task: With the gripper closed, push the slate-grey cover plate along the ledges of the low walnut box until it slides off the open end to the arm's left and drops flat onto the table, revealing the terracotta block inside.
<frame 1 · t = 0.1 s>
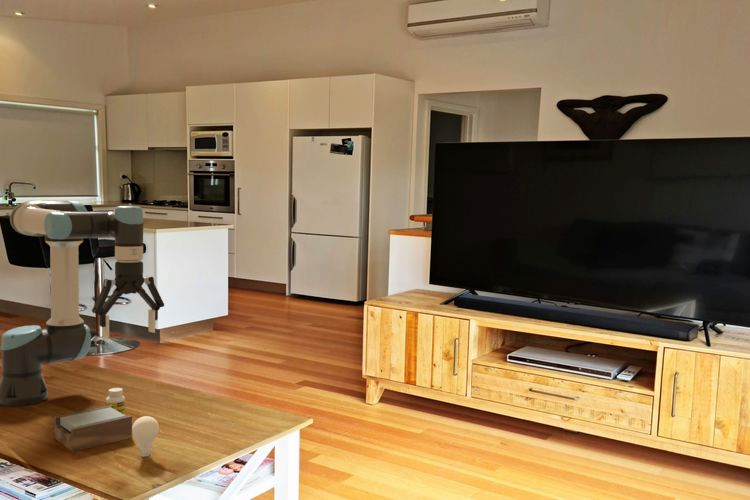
hand: (129, 335, 194), 28 cm above the table, fingers open, 13 cm apart
light bulb: (145, 458, 177), on the table
supplement bottle: (115, 422, 204), on the table
cover plate: (93, 423, 187), point 5 cm above the table, touching walnut box
walnut box: (93, 441, 187), on the table
terracotta block: (96, 437, 188), point 1 cm above the table, touching walnut box
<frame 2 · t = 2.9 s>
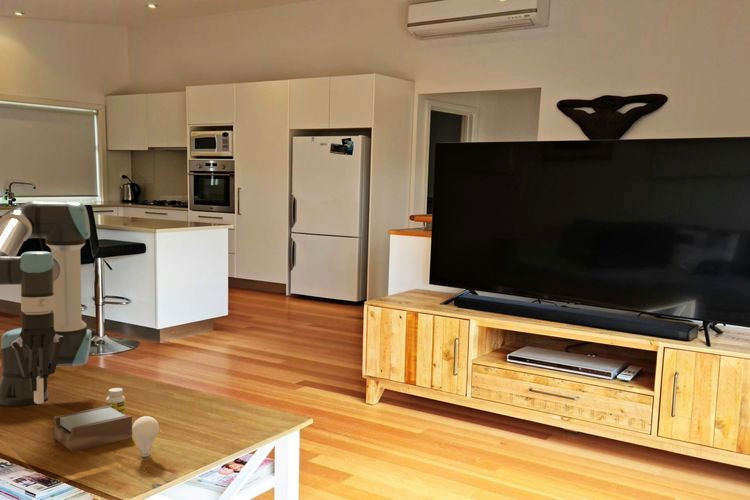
hand: (38, 402, 176), 14 cm above the table, fingers closed
nothing on the table moved.
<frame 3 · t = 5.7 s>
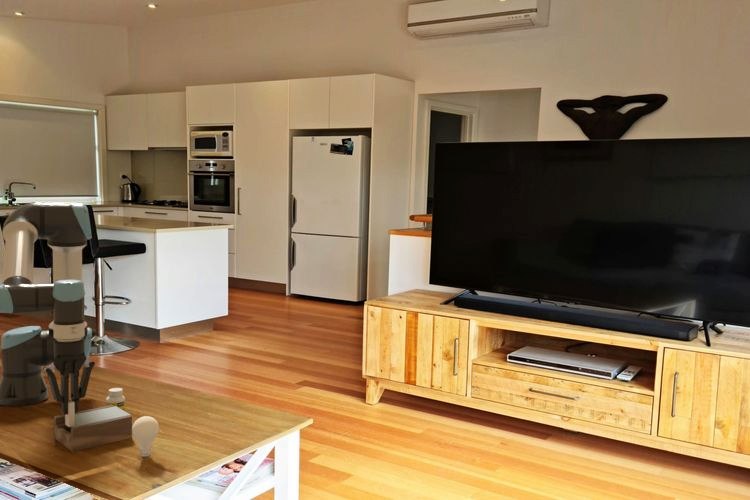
hand: (70, 425, 182), 6 cm above the table, fingers closed
cover plate: (98, 422, 188), point 5 cm above the table, touching gripper, walnut box
everything else where it was.
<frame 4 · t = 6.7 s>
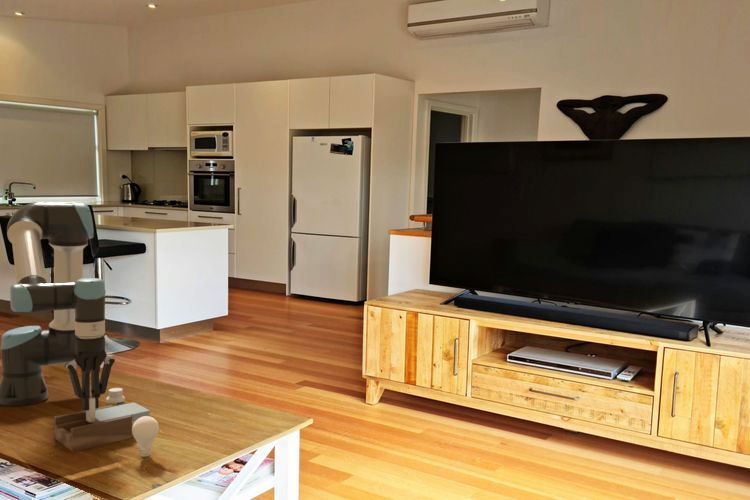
hand: (90, 420, 186), 6 cm above the table, fingers closed
cover plate: (118, 418, 192), point 5 cm above the table, touching walnut box
everything else where it was.
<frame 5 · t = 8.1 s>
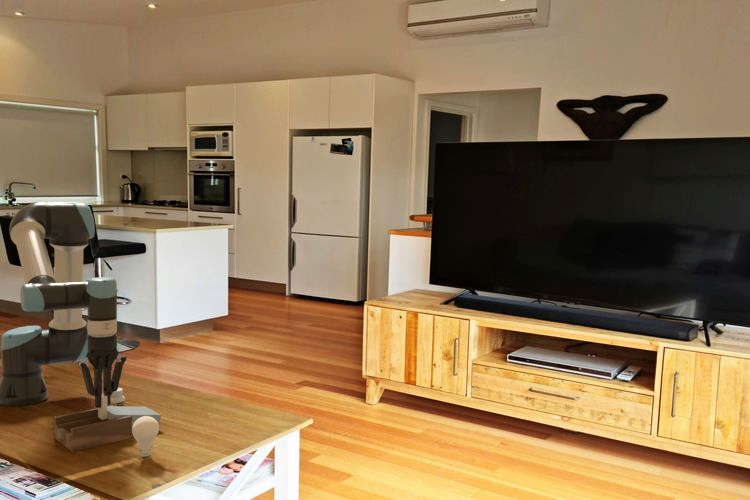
hand: (102, 418, 189), 6 cm above the table, fingers closed
cover plate: (129, 417, 194), point 5 cm above the table, tilted 12°, touching walnut box
everything else where it was.
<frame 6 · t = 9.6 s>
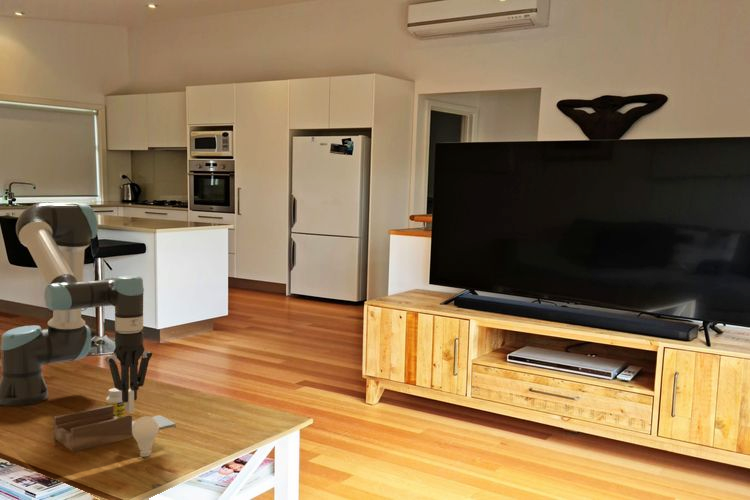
hand: (129, 412, 194), 6 cm above the table, fingers closed
cover plate: (145, 431, 198), on the table
everything else where it was.
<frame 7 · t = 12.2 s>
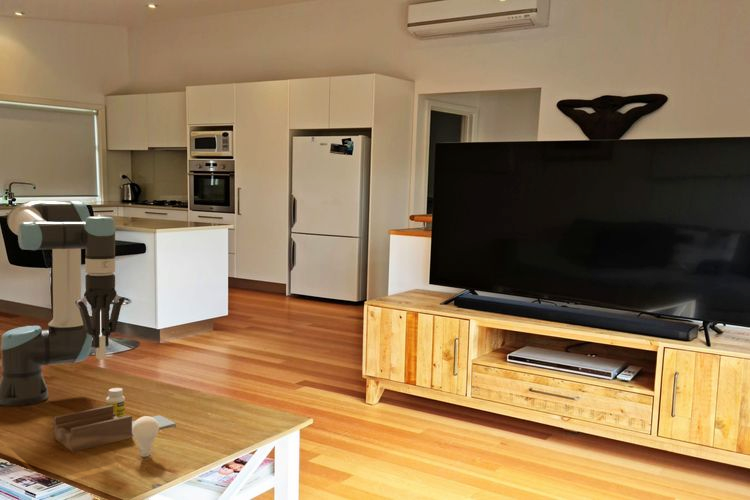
hand: (100, 358, 187), 23 cm above the table, fingers closed
nothing on the table moved.
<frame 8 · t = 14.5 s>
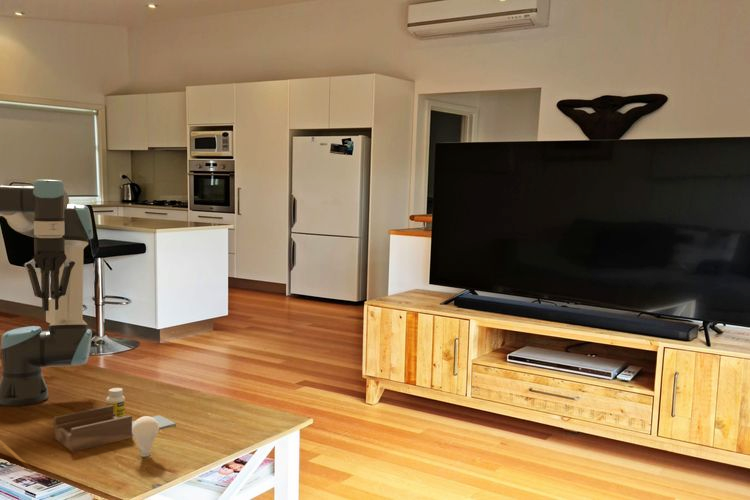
hand: (50, 322, 187), 32 cm above the table, fingers closed
nothing on the table moved.
at the end: cover plate inside the target area on the table beside the walnut box (5.4 cm from its centre), on the table; cover plate tilted 0°; the gripper is holding nothing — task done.
